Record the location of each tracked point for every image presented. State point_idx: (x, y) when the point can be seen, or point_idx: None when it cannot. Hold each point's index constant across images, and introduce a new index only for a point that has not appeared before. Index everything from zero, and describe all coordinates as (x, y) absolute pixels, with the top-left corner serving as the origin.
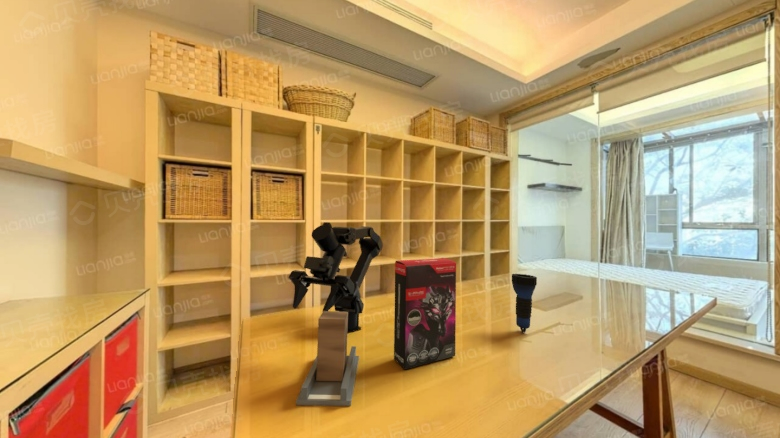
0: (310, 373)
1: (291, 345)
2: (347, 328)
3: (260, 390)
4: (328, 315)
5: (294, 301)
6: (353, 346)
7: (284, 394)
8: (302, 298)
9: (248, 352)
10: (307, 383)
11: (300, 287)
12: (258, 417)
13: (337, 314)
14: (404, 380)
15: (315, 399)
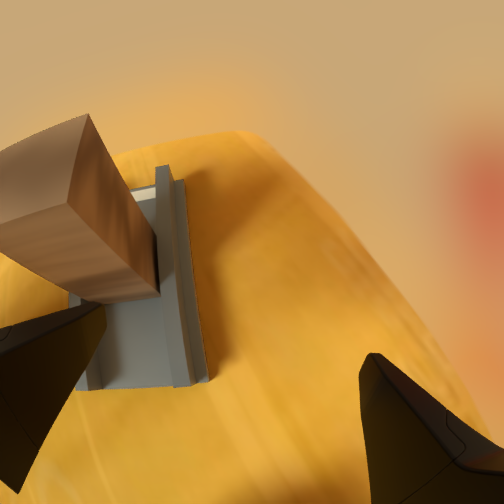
0: (164, 213)
1: (344, 435)
2: (21, 264)
3: (287, 209)
4: (45, 156)
5: (396, 373)
6: (82, 389)
7: (224, 207)
8: (371, 474)
9: (432, 349)
10: (158, 178)
11: (451, 485)
12: (239, 151)
13: (11, 183)
14: (3, 301)
15: (144, 188)
